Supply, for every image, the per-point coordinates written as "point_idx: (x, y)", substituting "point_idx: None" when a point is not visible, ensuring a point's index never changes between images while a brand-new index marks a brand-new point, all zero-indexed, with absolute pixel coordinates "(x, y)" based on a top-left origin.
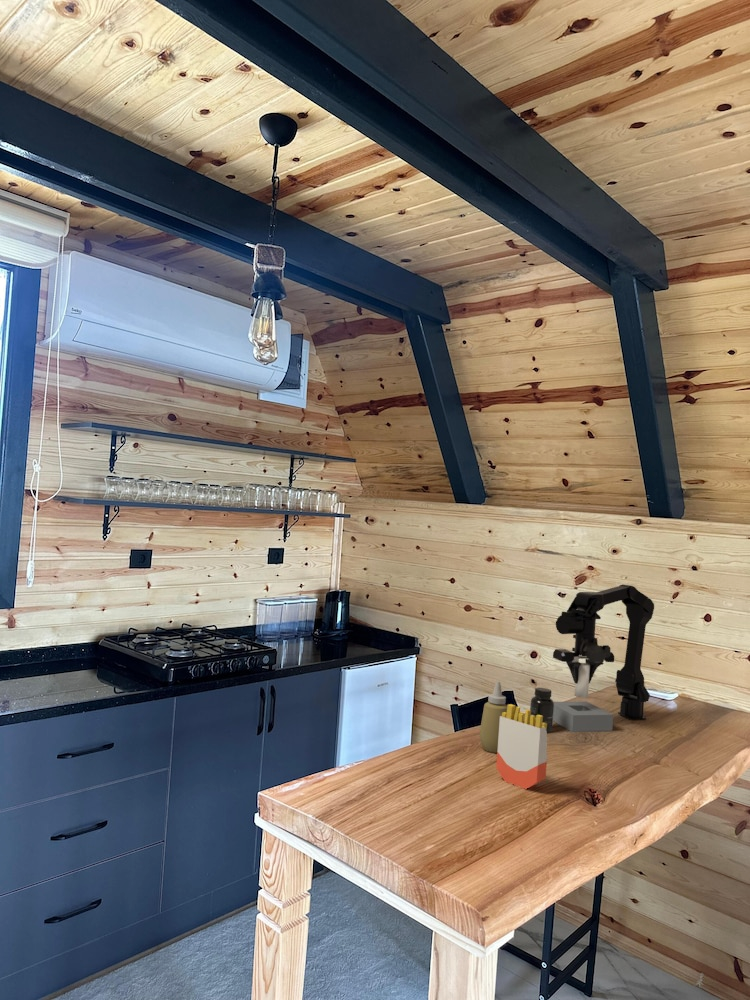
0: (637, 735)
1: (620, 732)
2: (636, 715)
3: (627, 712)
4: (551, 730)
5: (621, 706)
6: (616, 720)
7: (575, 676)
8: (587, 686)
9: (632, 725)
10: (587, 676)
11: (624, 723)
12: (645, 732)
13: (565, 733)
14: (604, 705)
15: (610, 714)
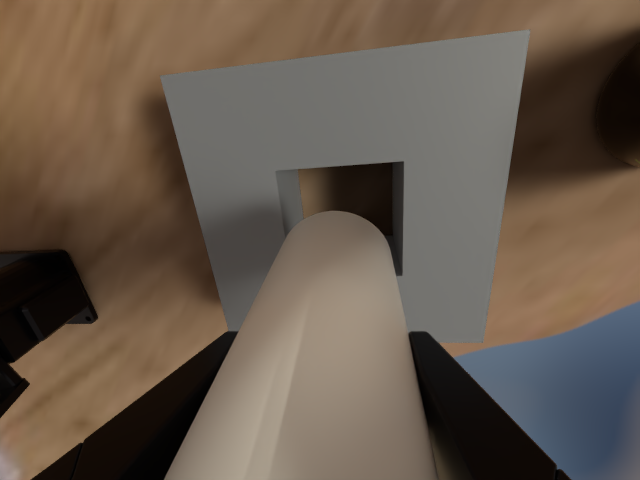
0: (89, 2)
1: (172, 58)
2: (21, 263)
3: (52, 282)
4: (634, 47)
5: (59, 319)
6: (130, 247)
7: (498, 413)
8: (290, 266)
9: (74, 179)
10: (267, 366)
11: (105, 207)
12: (32, 65)
13: (546, 19)
14: (122, 400)
15: (181, 77)
